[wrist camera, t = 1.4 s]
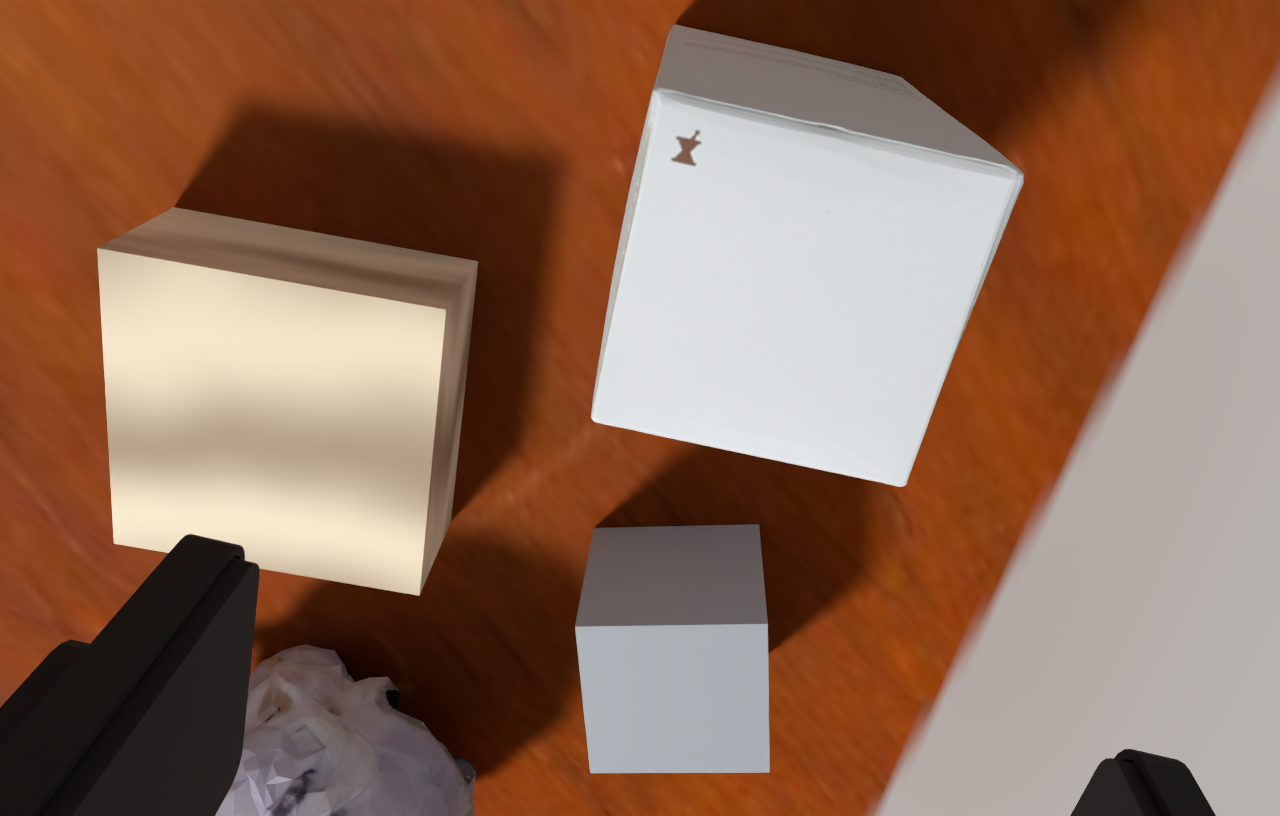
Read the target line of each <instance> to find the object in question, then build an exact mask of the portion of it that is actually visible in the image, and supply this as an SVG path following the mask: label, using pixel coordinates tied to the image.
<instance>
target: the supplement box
mask: <svg viewBox="0 0 1280 816" xmlns="http://www.w3.org/2000/svg"><path fill="white" fill-rule="evenodd" d="M1023 182H1024V174H1023V172H1022V171H1021V170H1020V169H1018V168H1017V167H1016V166H1015V165H1014V164H1013V163H1011V162H1010V161H1009V160H1008V159H1007V158H1005V157H1004V156H1003V155H1002V154H1001V153H1000V152H998V151H997V150H996V149H994V148H993V147H992V146H991V145H989V144H988V143H987V142H986V141H984V140H983V139H982V138H980V137H979V136H978V135H976V134H975V133H973V132H972V131H971V130H970V129H968V128H967V127H966V126H964V125H963V124H961V123H960V122H959V121H957V120H956V119H955V118H953V117H952V116H951V115H949V114H948V113H946V112H945V111H944V110H942V109H941V108H940V107H939V106H937V105H936V104H935V103H933V102H932V101H931V100H929V99H928V98H927V97H925V96H924V95H923V94H921V93H920V92H919V91H918V90H917V89H916V88H914V87H913V86H912V85H910V84H909V83H908V82H907V81H905V80H904V79H903V78H902V77H900V76H896V75H893V74H889V73H885V72H881V71H877V70H874V69H870V68H866V67H862V66H858V65H854V64H850V63H845V62H841V61H837V60H833V59H828V58H824V57H820V56H816V55H812V54H808V53H803V52H799V51H795V50H791V49H786V48H782V47H777V46H772V45H768V44H763V43H758V42H754V41H749V40H745V39H740V38H736V37H731V36H726V35H722V34H717V33H713V32H708V31H703V30H699V29H694V28H689V27H685V26H680V25H673V26H672V27H671V29H670V32H669V35H668V39H667V42H666V46H665V50H664V54H663V57H662V61H661V65H660V69H659V72H658V75H657V78H656V82H655V86H654V88H653V92H652V96H651V100H650V104H649V108H648V112H647V116H646V121H645V125H644V129H643V134H642V138H641V142H640V147H639V151H638V155H637V160H636V164H635V168H634V173H633V177H632V181H631V186H630V191H629V196H628V201H627V205H626V210H625V215H624V220H623V225H622V230H621V235H620V240H619V246H618V251H617V256H616V261H615V267H614V272H613V277H612V284H611V290H610V296H609V302H608V308H607V314H606V320H605V326H604V333H603V339H602V345H601V352H600V358H599V364H598V371H597V377H596V383H595V390H594V396H593V404H592V413H591V418H592V420H593V421H594V422H597V423H601V424H605V425H610V426H615V427H620V428H625V429H631V430H635V431H639V432H644V433H648V434H653V435H658V436H663V437H667V438H672V439H677V440H681V441H686V442H690V443H695V444H700V445H705V446H709V447H714V448H719V449H724V450H728V451H733V452H738V453H743V454H747V455H752V456H757V457H762V458H766V459H771V460H776V461H781V462H785V463H790V464H795V465H800V466H804V467H809V468H814V469H819V470H823V471H828V472H833V473H838V474H842V475H847V476H852V477H857V478H861V479H866V480H871V481H876V482H881V483H885V484H889V485H894V486H898V487H903V486H905V485H906V484H907V481H908V477H909V474H910V471H911V469H912V466H913V463H914V461H915V458H916V455H917V453H918V450H919V447H920V444H921V442H922V439H923V436H924V433H925V431H926V428H927V425H928V423H929V420H930V417H931V414H932V412H933V409H934V406H935V403H936V401H937V398H938V395H939V393H940V390H941V387H942V385H943V382H944V380H945V377H946V375H947V372H948V370H949V367H950V365H951V362H952V360H953V357H954V355H955V352H956V350H957V347H958V345H959V342H960V340H961V337H962V335H963V332H964V330H965V327H966V324H967V322H968V319H969V317H970V314H971V312H972V309H973V307H974V304H975V302H976V299H977V297H978V294H979V292H980V289H981V287H982V284H983V282H984V279H985V277H986V274H987V272H988V269H989V267H990V264H991V262H992V260H993V257H994V255H995V252H996V250H997V247H998V244H999V242H1000V239H1001V237H1002V234H1003V232H1004V229H1005V227H1006V224H1007V222H1008V219H1009V217H1010V214H1011V212H1012V209H1013V207H1014V204H1015V202H1016V200H1017V197H1018V195H1019V192H1020V190H1021V187H1022V185H1023Z"/></svg>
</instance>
